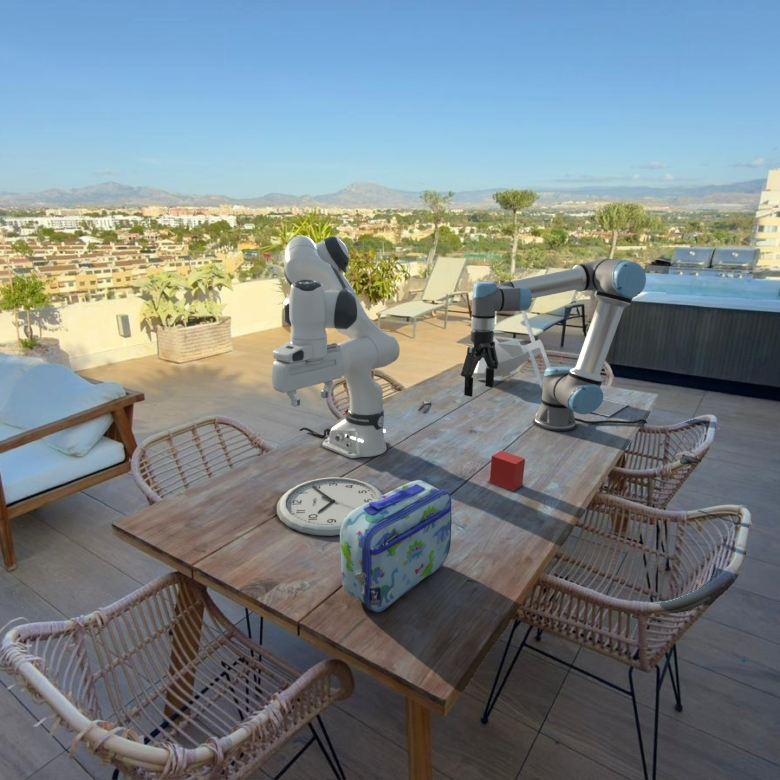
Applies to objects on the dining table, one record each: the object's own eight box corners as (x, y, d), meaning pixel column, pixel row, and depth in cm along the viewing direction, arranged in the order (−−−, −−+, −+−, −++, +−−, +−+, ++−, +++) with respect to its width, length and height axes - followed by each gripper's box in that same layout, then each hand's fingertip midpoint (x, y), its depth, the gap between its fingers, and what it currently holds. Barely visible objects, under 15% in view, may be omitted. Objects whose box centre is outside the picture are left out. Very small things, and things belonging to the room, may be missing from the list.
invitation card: (608, 416, 214) (573, 407, 224) (608, 416, 214) (573, 408, 224) (628, 404, 229) (594, 396, 238) (628, 405, 229) (594, 397, 238)
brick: (498, 476, 161) (501, 450, 158) (522, 485, 156) (525, 458, 153) (489, 482, 157) (491, 455, 155) (513, 491, 152) (515, 464, 149)
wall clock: (392, 527, 129) (268, 531, 127) (391, 533, 130) (269, 537, 127) (383, 473, 158) (282, 475, 155) (383, 478, 158) (282, 480, 156)
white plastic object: (490, 421, 263) (470, 398, 238) (471, 347, 285) (451, 320, 260) (562, 397, 251) (549, 370, 226) (536, 322, 273) (522, 290, 248)
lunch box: (369, 626, 100) (370, 530, 93) (334, 598, 107) (332, 507, 101) (455, 567, 117) (460, 483, 111) (419, 547, 124) (423, 467, 118)
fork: (415, 411, 216) (415, 406, 216) (426, 400, 231) (426, 395, 230) (421, 412, 216) (421, 407, 215) (432, 400, 230) (432, 396, 229)
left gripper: (332, 340, 137) (333, 390, 142) (266, 352, 123) (270, 407, 127) (349, 343, 133) (349, 395, 137) (283, 357, 119) (285, 414, 123)
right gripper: (491, 323, 184) (488, 381, 190) (451, 334, 166) (449, 397, 172) (510, 326, 179) (506, 385, 186) (471, 337, 161) (468, 402, 168)
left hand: (310, 401), depth 132 cm, fingers open, 8 cm apart
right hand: (479, 391), depth 179 cm, fingers open, 13 cm apart
